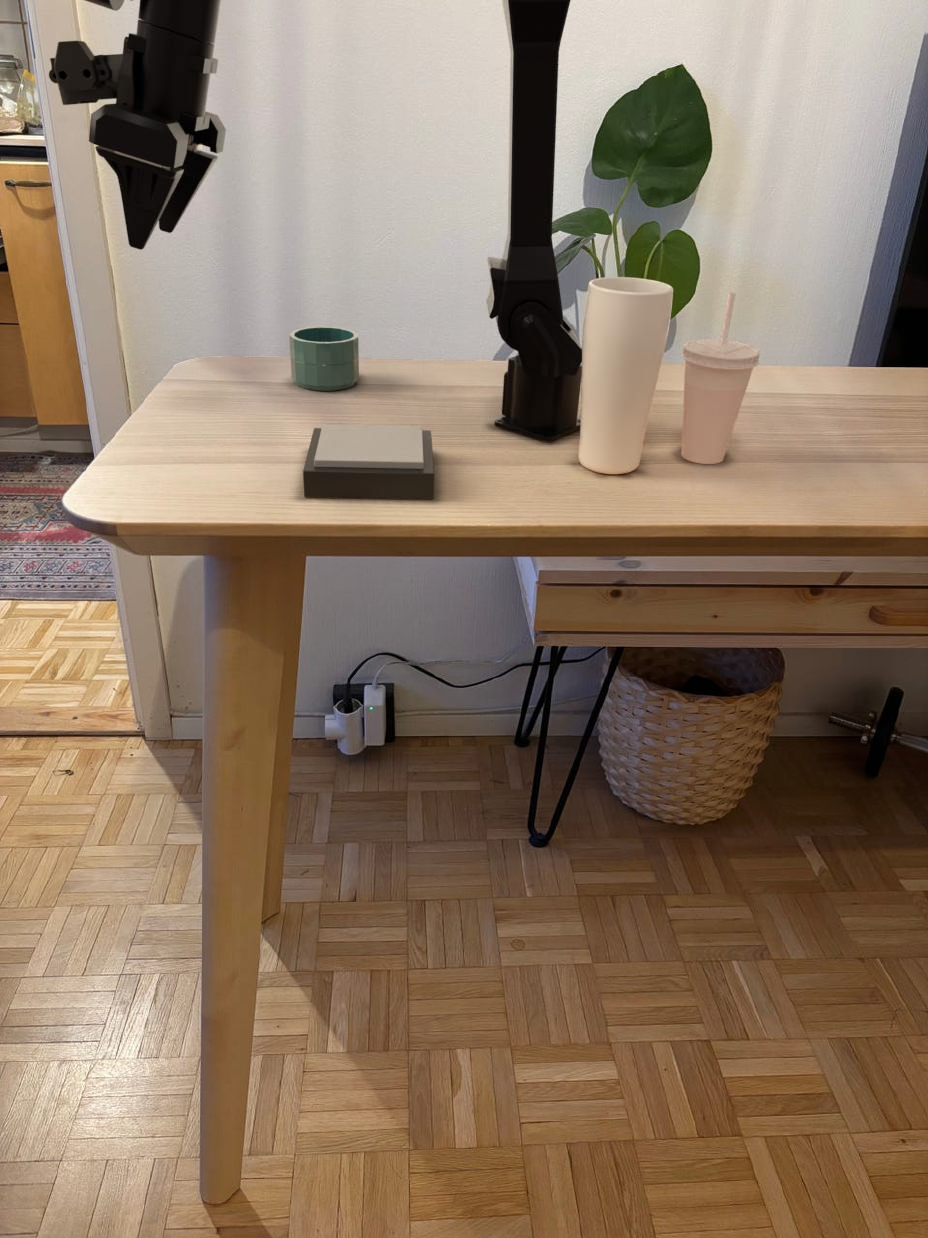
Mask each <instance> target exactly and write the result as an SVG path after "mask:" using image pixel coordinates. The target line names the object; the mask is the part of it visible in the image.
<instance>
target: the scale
mask: <svg viewBox="0 0 928 1238" xmlns="http://www.w3.org/2000/svg"><path fill="white" fill-rule="evenodd" d="M432 439H433V437H432V430H427V429H426V430H425V429H424V430H423V426H419V425H418V426H415V425H414V426H412V425H369V424H368V425H367V424H365V425H364V424H325V423H324V424H322V425H321V427H314V428H313V430H312V435H311V438H310V442H309V446H308V451H307V455H306V459H305V463H304V466H303V470H302V481H303V497H304V498H318V499H319V498H323V499H373V500H374V499H377V500H378V499H382V500H384V499H385V500H434V497H435V496H434V494H435V467H434V466H435V465H434V452H433V440H432Z"/></svg>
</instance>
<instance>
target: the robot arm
mask: <svg viewBox="0 0 928 1238" xmlns="http://www.w3.org/2000/svg"><path fill="white" fill-rule="evenodd" d="M84 1H86V2H88V3H91V4H95V5H97V6H100V7H103V8H106V9H109V10H112V11H115V12H117V11H120V9H121V8H122V7H123V6H124V3H125V0H84ZM130 1H131V2H132V1H133V2H134V0H130ZM221 1H222V0H139V7H138V15H137V18H138V19H137V24H136V25H137V26H136V33H130V32H128V36H125V37H124V39H123V46H122V47H123V48H122V53H116V54H115V53H113V54H95V55H94V53H93V52H92V50H91V48H90V47H89V46H88V44H87V42H86V41H83V40H66V41H58V42H57V47H56V51H55V57H50V58H49V61H50V65H51V69H50V70H49V71H48V78H49V80H50V82H52V83H53V84H57V87H58V91H59V95H60V99H61V103H62V105H63V106H69V105H83V104H96V103H98V102H99V101H100V100H113V99H114V100H115V103H105V104H104V105H102V106H101V107H99V108H98V109H96V110H94V111H93V112H92V113H90V123H89V134H88V142H89V143H91V144H93V145H95V148H94V149H95V151H96V153H97V154H98V156H99V157H101V158H103V159H104V161H106V163H107V164H108V165H109V166H110V168H111V169H112V170H113V172H114V173H115V175H116V177H117V181H118V187H119V191H120V196H121V203H122V209H123V215H124V216H123V217H124V222H125V228H126V235H127V243H128V245H129V246H130V247H131V248H133V249H137V250H142V251H143V250H144V249H145V247H146V245H147V243H148V242H149V240H150V239H151V236H152V235H153V232H154V231H155V229H156V227H157V224H158V228H159V230H160V231H162V232H164V233H167V234H171V233H172V232H174V230H175V229H176V227H177V225H178V224H179V222H180V220H181V219H182V217H183V215H184V213H185V212H186V210H187V208H188V207H189V206H190V204H191V202H192V200H193V199H194V197H195V195H196V194H197V192H198V191H199V189H200V188H201V186H202V184H203V182H204V181H205V179H206V178H207V176H208V175H209V173H210V171H211V170H212V168H213V166H214V165H215V163H217V161H218V158H219V156H217V155H216V154H219V153H223V151H224V147H225V146H224V145H225V139H226V133H227V129H226V127H225V126H224V124H223V122H222V120H221V118H220V117H219V115H218V114H216V113H213V112H209V111H206V109H207V103H208V102H207V101H208V96H209V95H208V94H209V89H210V88H209V87H210V82H211V81H210V80H211V74H217V72H218V71H217V70H218V63H219V59H218V58H214V51H215V44H216V39H217V31H218V23H219V15H220V10H221V9H220V8H221ZM501 2H502V9H503V15H504V20H505V27H506V33H507V38H508V44H509V52H510V53H509V54H510V60H509V64H510V65H509V123H508V125H509V126H508V127H509V129H508V130H509V131H508V187H507V188H508V191H507V193H508V194H507V198H508V199H507V202H508V203H507V235H506V240H505V243H504V244H505V246H504V249H503V253H502V257H501V258H498V257H492V256H487V258H486V260H487V266H488V273H489V279H490V280H489V282H490V287H489V292H488V295H487V298H486V301H485V302H486V305H487V311H488V316H489V319H490V320H492V319H495V322H496V325H497V330H498V333H499V336H500V338H501V340H502V341H503V342H504V343H505V344H506V345H507V346H508V347H509V348H510V349H512V350H514V351H516V352H517V354H518V355H515V356H511V357H508V360H507V371H505V372H504V373H503V382H502V383H503V385H502V398H501V399H502V400H501V401H502V402H501V415H502V417H500V418H497V419H495V420H494V426H495V427H497V428H500V429H504V430H507V431H511V432H514V433H517V434H520V435H524V436H527V437H530V438H533V439H537V440H541V441H544V442H552V441H554V440H557V439H560V438H562V437H564V436H566V435H568V434H571V433H574V432H576V431H577V430H580V421H581V418H580V419H579V418H578V416H579V407H580V397H581V380H582V344H581V343H580V341H579V339H578V338H577V335H576V333H575V332H574V329H572V327H571V325H569V324H568V323H567V321H566V320H565V318H564V313H563V304H562V298H561V296H562V295H561V289H560V282H559V274H558V268H557V261H556V257H555V251H554V245H553V217H554V216H553V215H554V190H555V188H554V187H555V166H556V165H555V163H556V139H557V138H556V137H557V113H558V111H557V109H558V108H557V107H558V84H559V81H558V80H559V61H560V59H559V56H560V47H561V42H562V38H563V34H564V29H565V26H566V20H567V17H568V12H569V9H570V4H571V0H501ZM203 146H204V147H206V148H209V152H207V151H203ZM210 152H211V153H210ZM213 153H214V154H213Z"/></svg>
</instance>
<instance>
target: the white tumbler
mask: <svg viewBox="0 0 928 1238" xmlns="http://www.w3.org/2000/svg"><path fill="white" fill-rule="evenodd" d="M587 287H588V288H587V293H586V298H585V299H586V300H585V307H584V314H583V315H584V316H583V324H582V326H583V327H582V341H581V342H582V343H581V347H582V363H581V365H582V378H581V387H580V420H581V421H580V429H579V442H578V451H577V457H578V461H579V463H580V464H581V466H583V467H584V468H585V469H588V470H590V471H592V472H595V473H599V474H606V475H623V474H627V473H631V472H633V471H635V470H636V469H637V468H639V465H640V464H641V458H642V452H643V445H644V441H645V435H646V432H647V431H646V430H647V428H648V423H649V419H650V413H651V409H652V405H653V401H654V397H655V392H656V388H657V384H658V379H659V376H660V372H661V367H662V363H663V359H664V355H665V350H666V346H667V342H668V341H667V340H668V334H669V328H670V324H671V323H670V322H671V316H672V315H671V314H672V307H673V297H674V296H673V295H674V288H673V286H671V285H670V284H668V283H666V282H662V281H658V280H654V279H649V278H648V279H647V278H641V277H631V276H630V277H629V276H606V277H605V276H604V277H599V278H594V279H592V280H590V281H589V282H588V286H587Z"/></svg>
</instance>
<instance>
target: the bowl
mask: <svg viewBox="0 0 928 1238" xmlns="http://www.w3.org/2000/svg"><path fill="white" fill-rule="evenodd" d="M359 349H360V348H359V333H357V332H356V331H354V330H353V329H349V328H345V327H338V326H337V327H336V326H307V327H302V328H297V329H295V330H292V331H291V332H289V354H290V355H289V356H290V371H291V373H290V374H291V379H292V380H293V381H294V382H296V384H297V385H298V386H299V387H301V388H303V389H307V390H312V391H319V392H332V391H342V390H345V389H349V388H351V387H353V386H354V385H355V383H356V382H357V381H358V380H359V379H360V361H359V359H360V358H359V356H360V355H359V354H360V353H359V352H360V351H359Z"/></svg>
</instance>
